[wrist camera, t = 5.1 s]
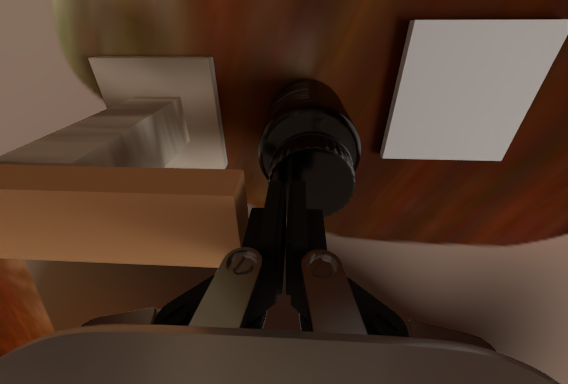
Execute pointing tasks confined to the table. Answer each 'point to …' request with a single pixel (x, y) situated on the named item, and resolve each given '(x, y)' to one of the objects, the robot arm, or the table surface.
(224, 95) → the table surface
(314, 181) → the supplement bottle
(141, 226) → the strap bar
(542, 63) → the grey mat
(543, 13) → the table surface
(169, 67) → the stand
